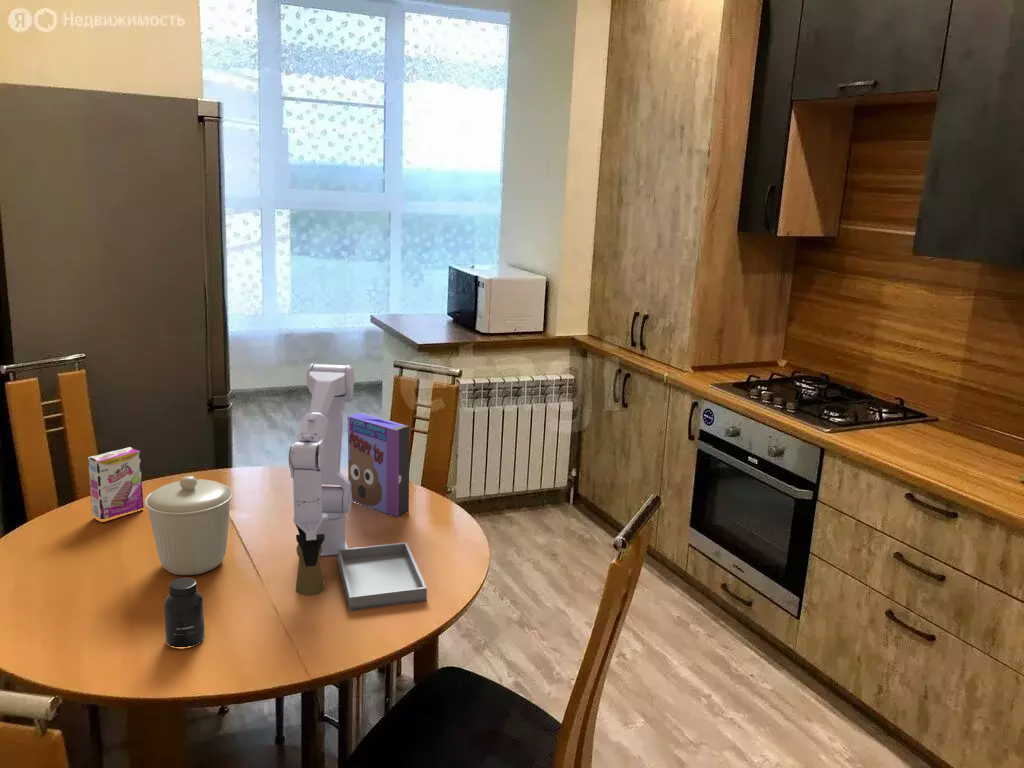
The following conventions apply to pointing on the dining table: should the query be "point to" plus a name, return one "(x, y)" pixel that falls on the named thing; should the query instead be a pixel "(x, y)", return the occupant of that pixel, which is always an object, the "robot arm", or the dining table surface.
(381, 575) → the box
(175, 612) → the supplement bottle
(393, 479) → the cereal box
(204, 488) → the canister
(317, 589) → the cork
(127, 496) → the candy bar box
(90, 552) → the dining table surface
